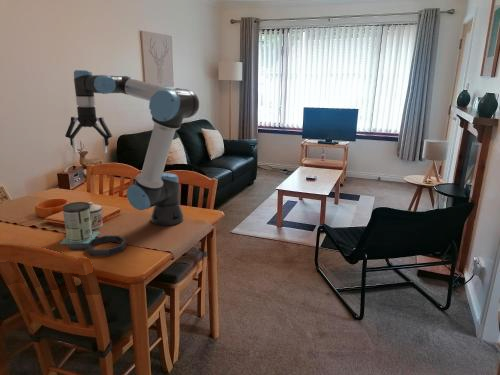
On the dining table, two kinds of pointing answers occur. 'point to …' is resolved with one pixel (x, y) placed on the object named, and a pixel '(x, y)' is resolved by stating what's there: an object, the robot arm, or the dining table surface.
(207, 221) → the dining table surface
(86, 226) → the coffee can
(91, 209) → the teacup with lid
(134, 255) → the dining table surface
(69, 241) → the teal pad
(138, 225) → the dining table surface
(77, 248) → the ring
